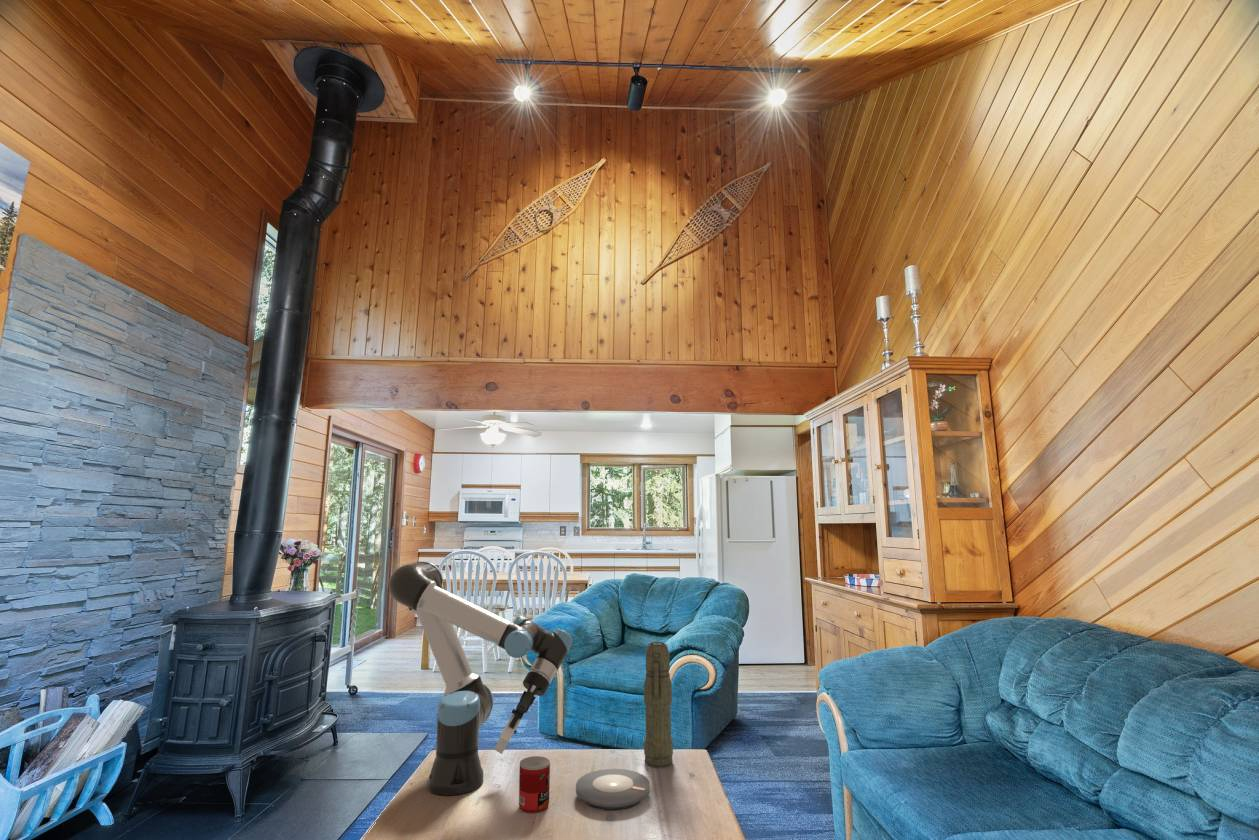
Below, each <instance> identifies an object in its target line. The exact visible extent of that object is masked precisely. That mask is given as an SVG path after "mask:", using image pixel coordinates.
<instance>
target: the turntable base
mask: <svg viewBox="0 0 1259 840" xmlns="http://www.w3.org/2000/svg"><path fill="white" fill-rule="evenodd" d="M641 802H642V801H640V802H638V803H635V804H632V805H628V806H621V807H602V806H596V805H592V804H589V803H586V802H584V803H585V804H586V805H587V806H589V807H590V808H594V809H596V810H599V811H600V810H601V811H610V812H611V811H624V810H627V809H631V808H633V807H636V806H637V805H639V804H640V803H641Z"/></svg>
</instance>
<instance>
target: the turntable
mask: <svg viewBox="0 0 1259 840" xmlns="http://www.w3.org/2000/svg"><path fill="white" fill-rule="evenodd" d="M650 783H651V782H650V781H649V779H648V777H646V776H645V775H644V774H642V773H639V772H637V771H634V770H630V769H624V768H603V769H599V770H593V771H590V772H588V773H586V774H584V775H583V776H580V777H579V778H578V780H577V781H576V783H575V793H576V796H577V798H578V799H580V800H581V801H583V802H584V803H585V802H586V803H589V804H592V805H596V806H602V807H621V806H628V805H632V804H635V803H638V802H640V801H641V802H642V801H644V800H645V799H646V798H647V797H648V796H649V794H650V792H651V791H650V790H651V788H650V785H651V784H650ZM641 802H640V803H641ZM586 803H585V804H586Z"/></svg>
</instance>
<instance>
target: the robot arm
mask: <svg viewBox="0 0 1259 840" xmlns="http://www.w3.org/2000/svg"><path fill="white" fill-rule="evenodd" d="M441 571H442V570H440V568H439V567H438V566H437V565H436V564H434V563H431V562H428V561H417V562H414V563H410V564H409V563H408V564H404V565H402V566H400V567H398V568H396V570H395V571H393V572H392V573H391V576H390V578H389V581H388V591H389V594H390V595H391V597H392V599H394V601H396V602H397V603H399V604H401V605H403V606H405V607H407V608H408V610H409V612H410V613H412V614H415V615H416V616H417V618H418V620H419V623H420V625H421V628H422V630H423V632H424V635H425V638H426V640H427V642H428V645H429V648H430V650H431V652H432V655H433V657H434V660H435V662H436V664H437V667H438V669H439V672H440V674H441V677H442V680H443V681H444V684H445V689H444V693H443V697H442V698H441V699H440V700H439V703H438V707H437V710H436V712H437V713H436V717H437V722H436V723H437V724H436V725H437V726H436V747H435V749H436V750H435V757H434V761H433V764H432V767H431V769H430V773H429V776H428V778H427V779H428V781H427V782H428V783H427V789H428V788H429V789H428V790H429V791H430V790H431V791H432V792H434V793H433V794H435V793H437V794H436V795H439V794H442V795H441V796H456V794H458V795H462V793H463V794H467V793H469V792H473V791H475V790H476V789H478V788H479V787H480V786H482V785H483V783H484V771H483V768H482V765H481V760H480V755H479V735H480V734H479V731H480V728H481V727H482V726H483V724H484V723H485V722H486V721H487V720H488V719H489V717H490V715H491V714H492V710H493V707H494V695H493V693H492V690H491V689H490V687H489V686H488V685H486V684H484V683H483V681H482V678H481V675H480V674H478V673H476V672H473V670H472V668H471V665H470V663H469V659H468V658H467V656H466V653H465V651H464V648H463V646H462V643H461V641H460V639H459V636H458V634H457V632H456V629H455V627H454V626H456V627H458V628H460V629H462V630H463V631H466V632H468V633H471V634H472V635H475V636H476V637H479V638H481V639H483V640H484V641H487V642H489V643H491V644H493V645H495V646H497V647H500V648H501V649H503V650H504V651H505V653H506V654H507V655H508V656H509V657H511V658H514V659H519V658H523V657H525V656H526V655H527V654H529V653H530V651H531V652H533V653H535V654H537V657H536V658H535V660H534V662H533V664H532V665H531V667H530V669H529V671H528V672H527V674H526V676H525V677H524V679H523V680H522V686H523V687H524V688H525V689H526V690H524V691H523V693H522V694H521V697H520V699H519V702H518V703H517V705H516V707H515V709H514V708H513V709H512V710H511V712H510V713H511V716H510V719H508V722H507V723H506V725H505V727H504V729H503V730H502V732H501V734H500V736H499V739H498V740H497V743H496V744H495V746H494V748H493V750H494V751H496V752H497V753H499V754H501V755H503V753H504V751H505V749H506V748H507V745H508V744H509V743H510V740H511V738H512V737H513V735H514V734H517V732H518V731H517V730H516V729H517V727H518V726H519V724H520V721H522V718H523V717H524V714H526V713H528V711H529V708H530V707H531V706H532V705H533V703H534V701H535V700H536V696H538V697H543V696H545V695H546V692H547V691H548V689H549V688H550V684H551V683H552V681H553V679H554V678H557V675H558V674H557V672H558V671H559V668H560V667H561V665H562V663H563V662H564V660H565V658H566V657H567V655H568V653H569V650H570V648H571V646H573V645H572V644H573V638H572V636H571V634H570V633H569V632H567V631H566V630H564V629H560V628H554V629H553V630H552V631H549V630H547V629H545V628H544V627H542V626H540V625H539V624H538V623H536V622H534V621H532V620H531V619H530V618H528V617H525V616H523V615H522V614H521V615H520V614H519V615H518V616H516V618H515V620H513V622H511V621H510V620H508V619H506V618H503V617H502V616H499V615H497V614H496V613H493V612H491V611H489V610H487V609H485V608H483V607H480V606H479V605H478V604H477V605H476V604H474V603H473V602H471V601H468V600H466V599H464V598H462V597H460V596H458V595H456V594H454V593H452V592H451V591H450V592H449V591H447V590H445V589H444V587H443V582H444V578H443V574H442V572H441ZM431 791H430V792H431ZM432 792H431V793H432Z"/></svg>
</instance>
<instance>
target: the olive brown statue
mask: <svg viewBox="0 0 1259 840" xmlns="http://www.w3.org/2000/svg"><path fill="white" fill-rule="evenodd" d="M670 665H671V664H670V651H669V648H668V645H667V644H666V643H665V642H661V641H654V642H649V644H647V647H646V650H645V670H646V671H645V672H646V673H645V679H644V682H643V703H644V705H645V737H644V740H643V749H644V750H643V751H644V753H643V754H644V764H645V765H646V766H648V767H651V768H658V769H659V768H661V769H662V768H667V767H670V766H672V765H673V763H674V762H673V754H674V751H673V750H674V743H673V739H672V726H671V725H672V716H671V715H672V714H671V712H672V711H671V705H672V703H673V685H672V680H671V675H670V670H671V669H670V668H671V667H670ZM671 764H672V765H671Z"/></svg>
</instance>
